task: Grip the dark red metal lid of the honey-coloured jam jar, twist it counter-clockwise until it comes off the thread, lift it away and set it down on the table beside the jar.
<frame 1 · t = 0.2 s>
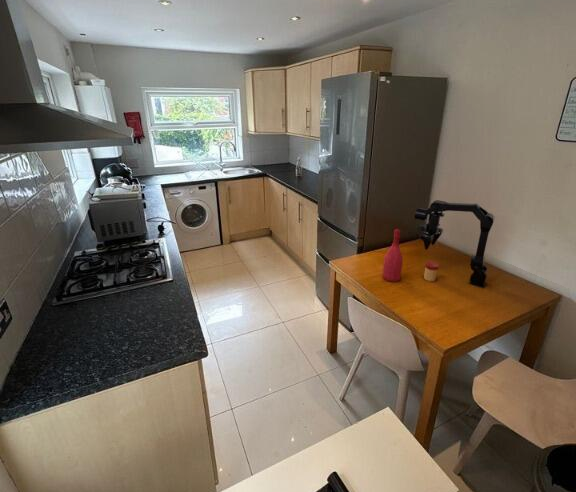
hand: (429, 247, 178), 14 cm above the table, tool pointing down, fingers open, 9 cm apart
wine bottle: (390, 278, 172), on the table
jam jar: (429, 278, 172), on the table
lid: (432, 264, 169), point 9 cm above the table, screwed on, not yet turned
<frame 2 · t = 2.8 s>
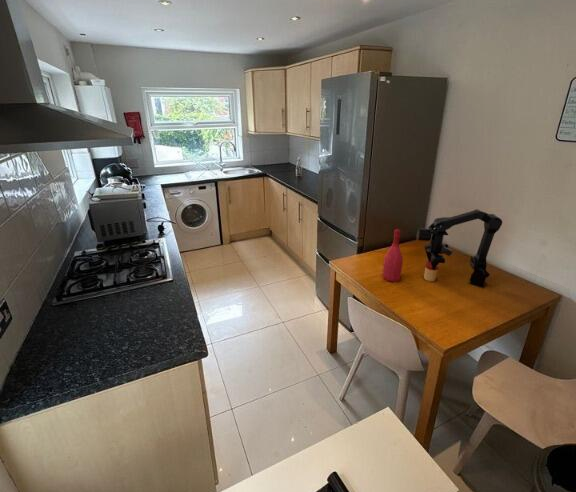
hand: (431, 266, 169), 8 cm above the table, tool pointing down, fingers closed on lid, 6 cm apart
lid: (432, 264, 169), point 9 cm above the table, screwed on, not yet turned, touching gripper
everything else where it was.
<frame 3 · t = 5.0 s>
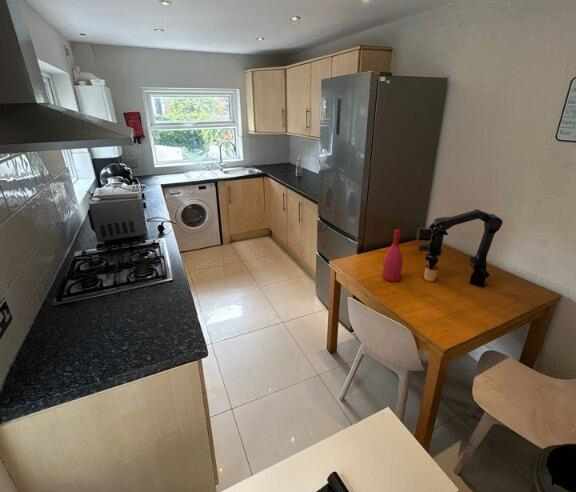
hand: (431, 266, 169), 8 cm above the table, tool pointing down, fingers closed on lid, 6 cm apart
lid: (432, 264, 169), point 9 cm above the table, off its thread, touching gripper
everything else where it was.
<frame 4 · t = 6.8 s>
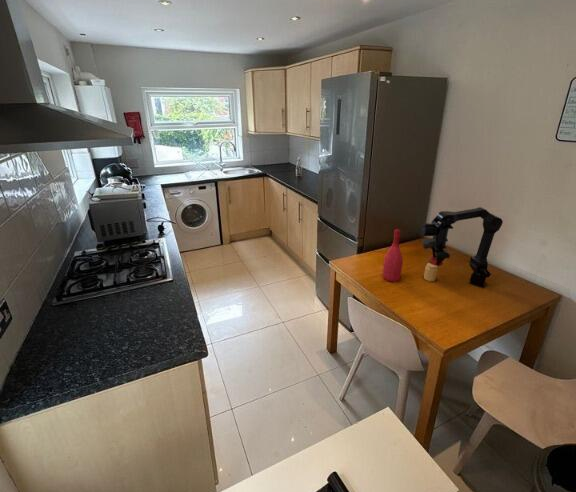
hand: (435, 262, 163), 13 cm above the table, tool pointing down, fingers closed on lid, 6 cm apart
lid: (436, 260, 162), point 14 cm above the table, off its thread, touching gripper
everything else where it was.
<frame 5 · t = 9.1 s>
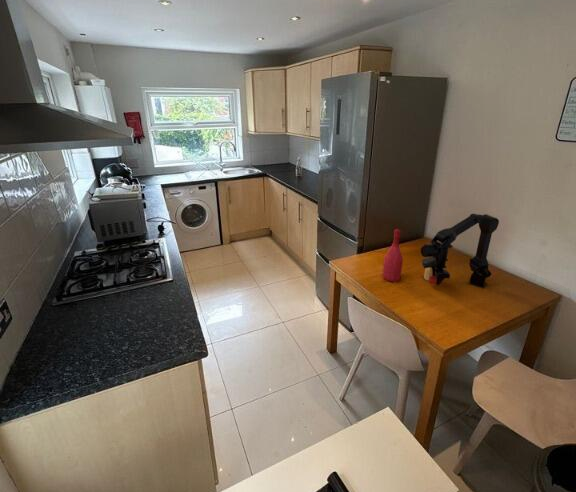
hand: (435, 281, 161), 4 cm above the table, tool pointing down, fingers closed on lid, 6 cm apart
lid: (435, 279, 161), point 5 cm above the table, off its thread, touching gripper
everything else where it was.
when the fingers open (0 cm above the table, at t = 10.9 s): lid stays where it is, point 1 cm above the table.
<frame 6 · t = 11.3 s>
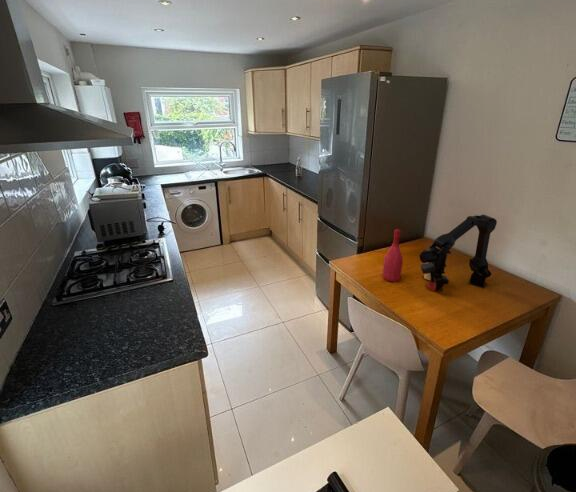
hand: (434, 286, 162), 1 cm above the table, tool pointing down, fingers open, 9 cm apart
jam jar: (429, 278, 172), on the table, tilted 5°, touching gripper
lid: (434, 285, 162), point 1 cm above the table, off its thread
everything else where it was.
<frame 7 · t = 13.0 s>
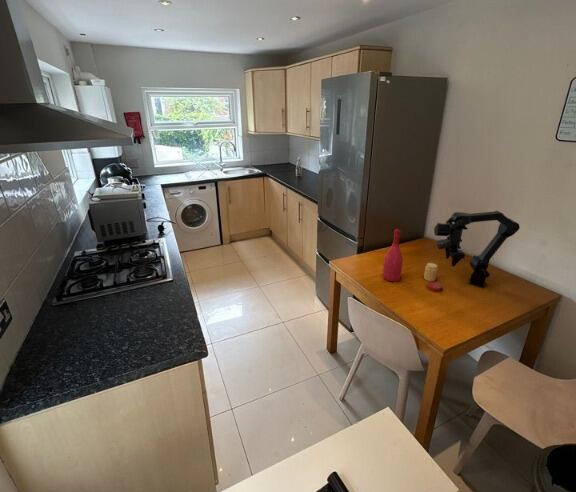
hand: (449, 262, 165), 12 cm above the table, tool pointing down, fingers open, 9 cm apart
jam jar: (429, 278, 172), on the table
everything else where it was.
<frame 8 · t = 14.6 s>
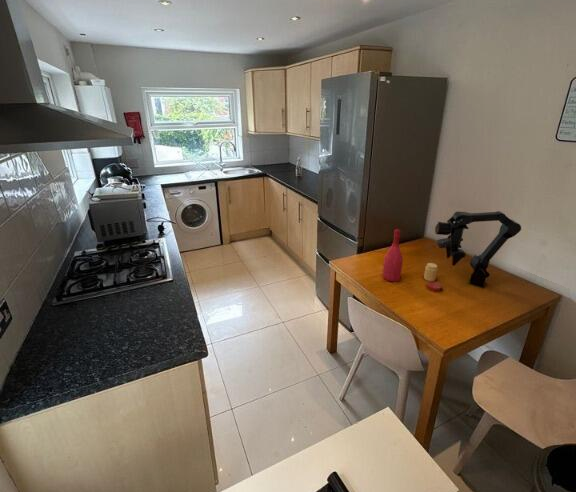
hand: (450, 261, 166), 12 cm above the table, tool pointing down, fingers open, 9 cm apart
nothing on the table moved.
at the end: lid came off its thread; lid point 1.5 cm above the table; the gripper is holding nothing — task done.
